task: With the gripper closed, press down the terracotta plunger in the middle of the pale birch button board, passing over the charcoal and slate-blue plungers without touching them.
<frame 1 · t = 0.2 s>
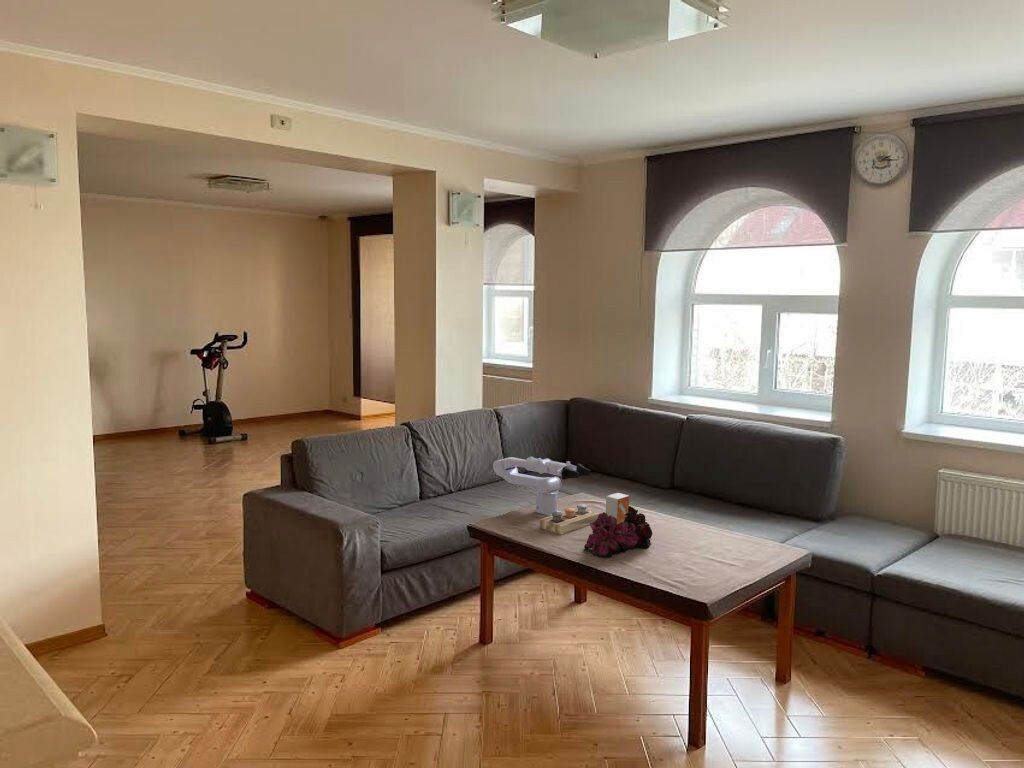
hand: (584, 474, 312), 21 cm above the table, tool horizontal, fingers open, 7 cm apart
plunger terracotta: (569, 513, 311), point 5 cm above the table, slide at 0.0 cm
plunger charcoal: (557, 517, 305), point 5 cm above the table, slide at 0.0 cm
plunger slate: (581, 509, 317), point 5 cm above the table, slide at 0.0 cm
small box: (617, 526, 310), on the table
flower arrangement: (620, 548, 285), on the table
button board: (569, 524, 312), on the table
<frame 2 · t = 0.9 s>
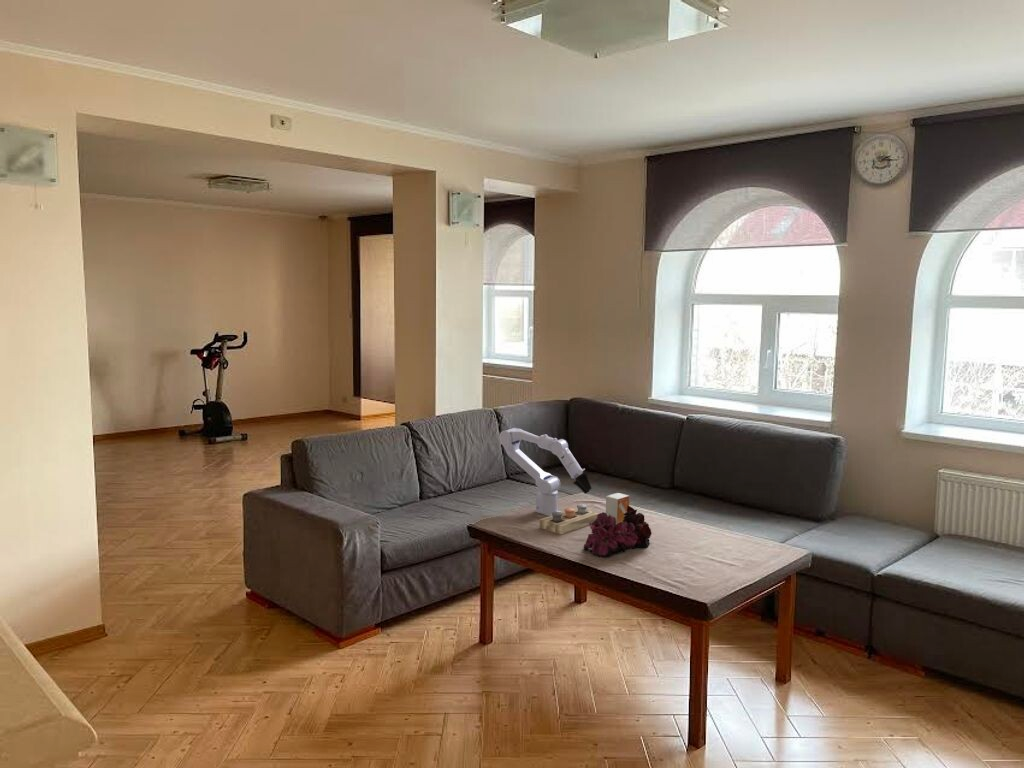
hand: (588, 491, 316), 13 cm above the table, tool tilted 40°, fingers open, 7 cm apart
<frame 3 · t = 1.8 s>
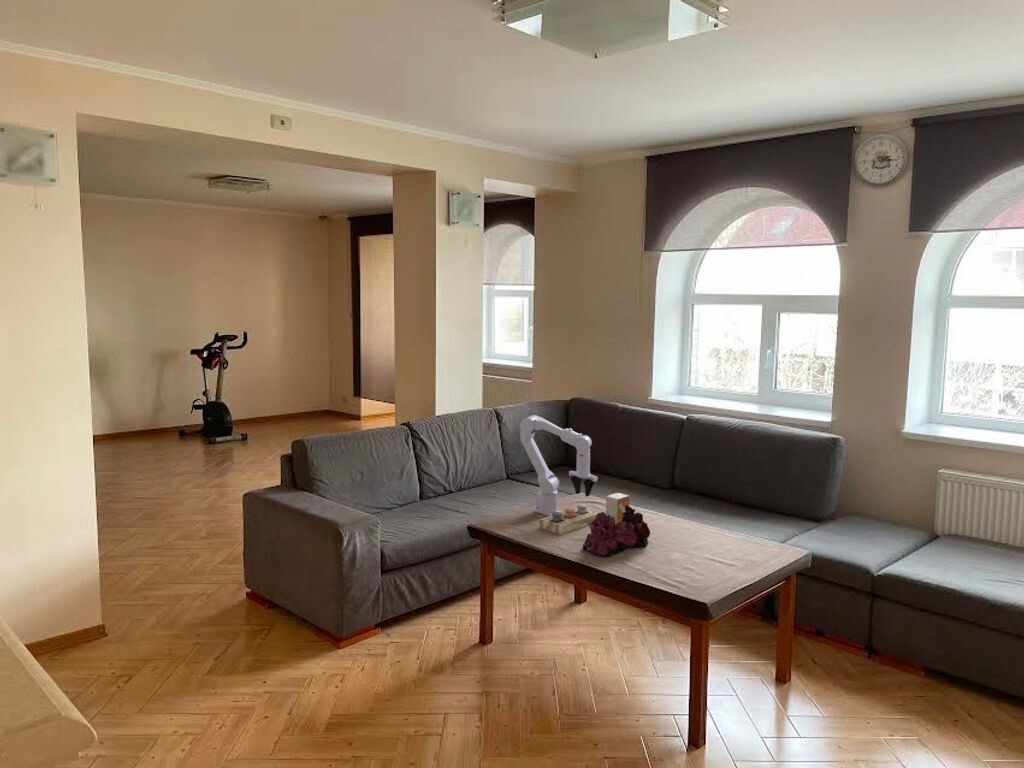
hand: (582, 494, 321), 10 cm above the table, tool pointing down, fingers open, 5 cm apart
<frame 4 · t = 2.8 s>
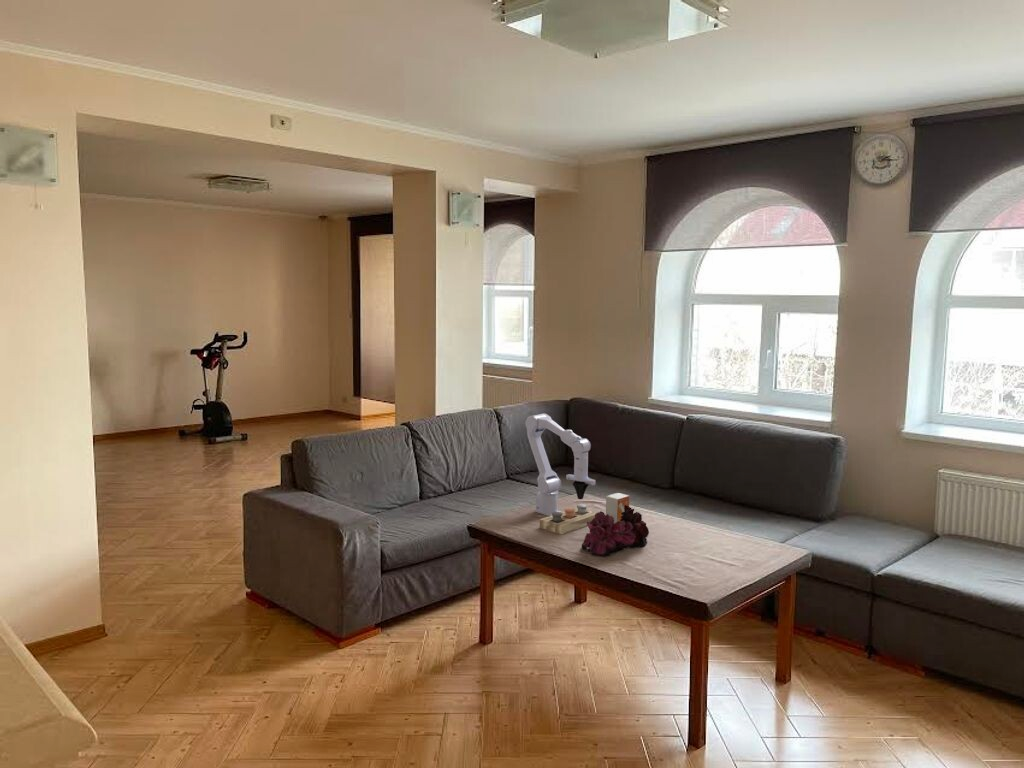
hand: (580, 498, 315), 10 cm above the table, tool pointing down, fingers closed
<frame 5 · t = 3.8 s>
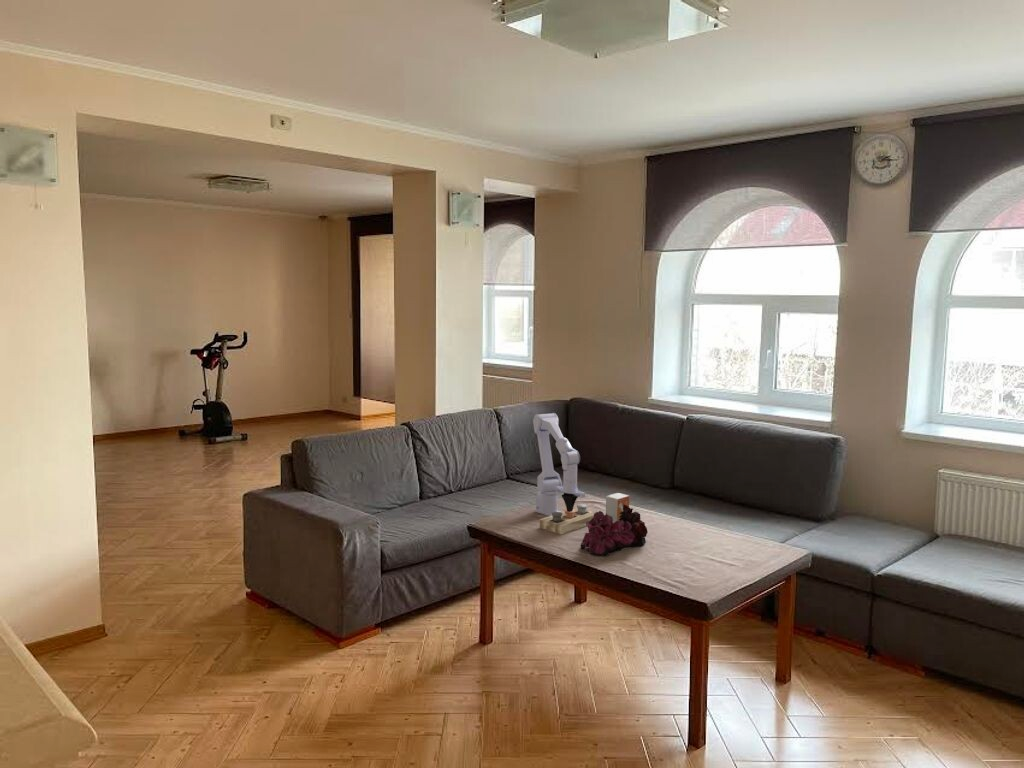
hand: (569, 510, 311), 6 cm above the table, tool pointing down, fingers closed, pressing on plunger terracotta
plunger terracotta: (569, 514, 311), point 4 cm above the table, slide at 0.6 cm, touching gripper
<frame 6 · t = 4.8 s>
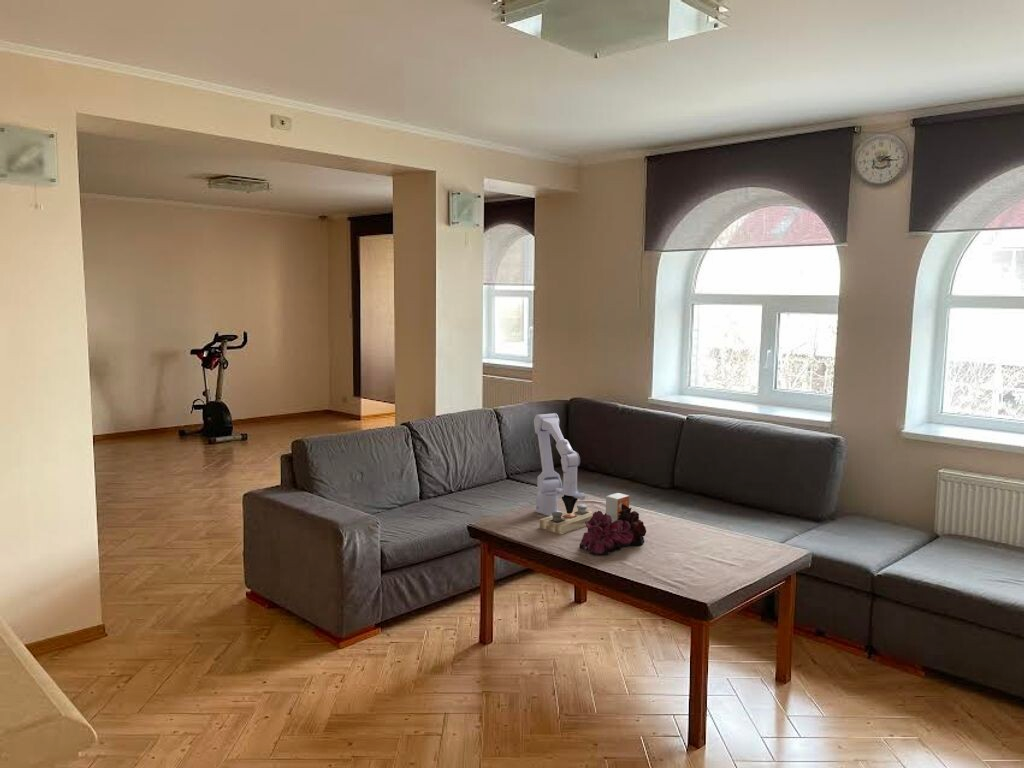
hand: (569, 513, 311), 5 cm above the table, tool pointing down, fingers closed
plunger terracotta: (569, 518, 311), point 3 cm above the table, slide at 2.2 cm
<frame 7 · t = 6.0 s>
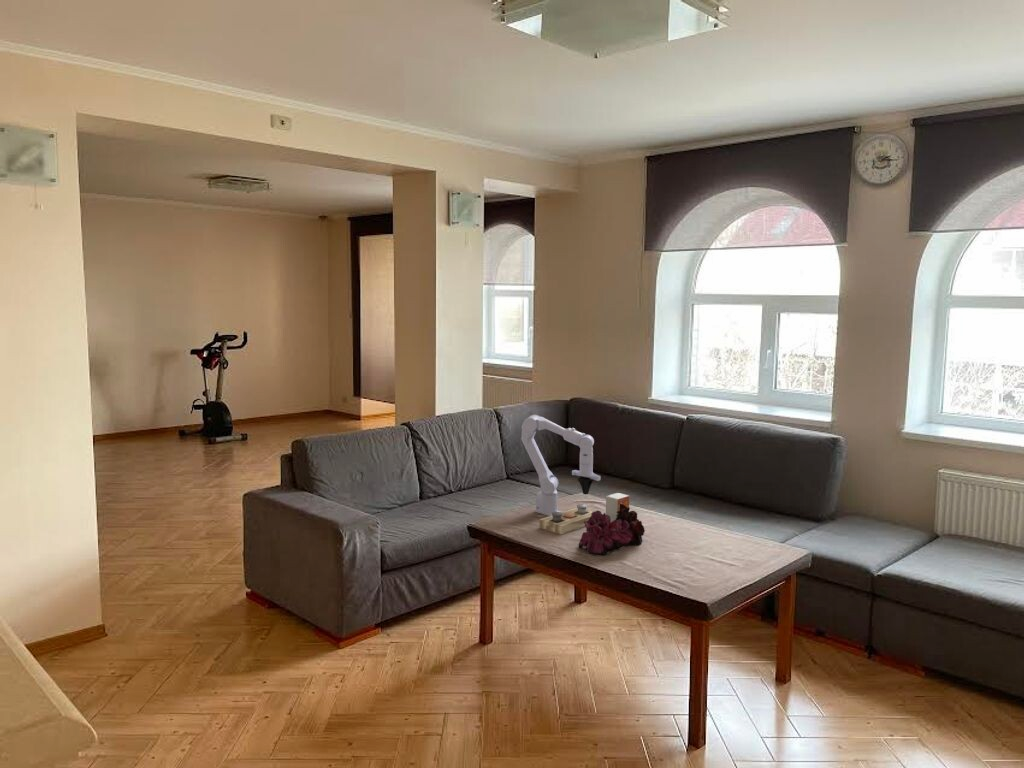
hand: (585, 493, 322), 10 cm above the table, tool pointing down, fingers closed
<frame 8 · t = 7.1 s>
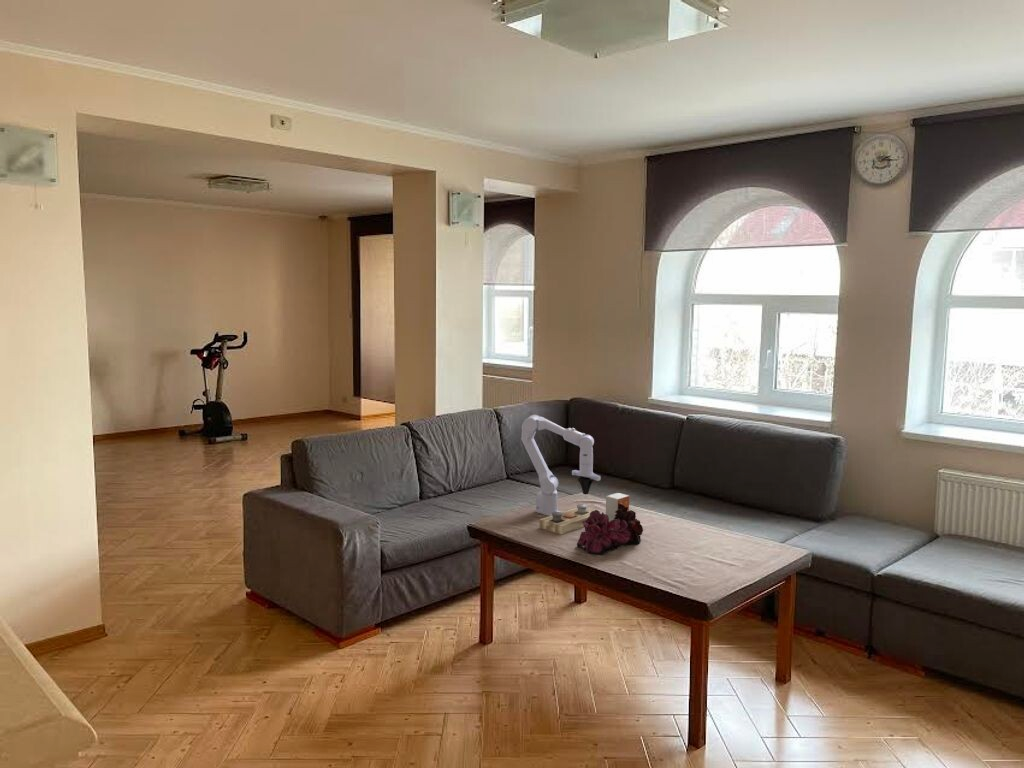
hand: (585, 493, 322), 10 cm above the table, tool pointing down, fingers closed
at the end: plunger terracotta slide at 2.2 cm; plunger charcoal slide at 0.0 cm; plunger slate slide at 0.0 cm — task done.
